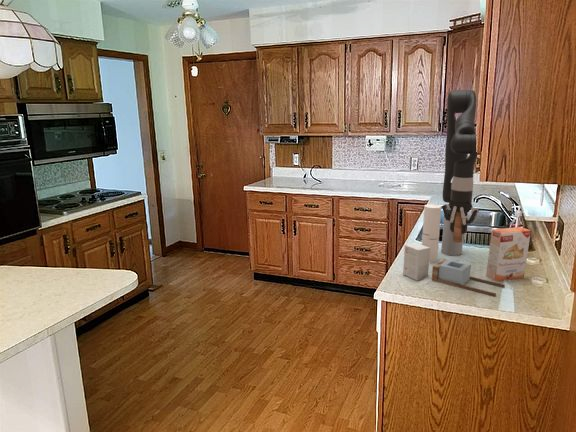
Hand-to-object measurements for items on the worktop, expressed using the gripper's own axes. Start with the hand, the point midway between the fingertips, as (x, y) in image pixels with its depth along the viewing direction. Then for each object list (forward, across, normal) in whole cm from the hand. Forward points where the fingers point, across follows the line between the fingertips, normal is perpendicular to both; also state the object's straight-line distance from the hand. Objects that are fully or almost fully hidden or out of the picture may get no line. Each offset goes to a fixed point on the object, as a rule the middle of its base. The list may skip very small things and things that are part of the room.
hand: (458, 232), depth 172 cm
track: (+21, -5, 0) cm, 22 cm away
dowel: (+4, 0, 0) cm, 4 cm away
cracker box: (+21, -14, -17) cm, 31 cm away
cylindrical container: (+21, +19, -19) cm, 34 cm away
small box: (+21, +15, +3) cm, 26 cm away
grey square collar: (+20, 0, 0) cm, 20 cm away
